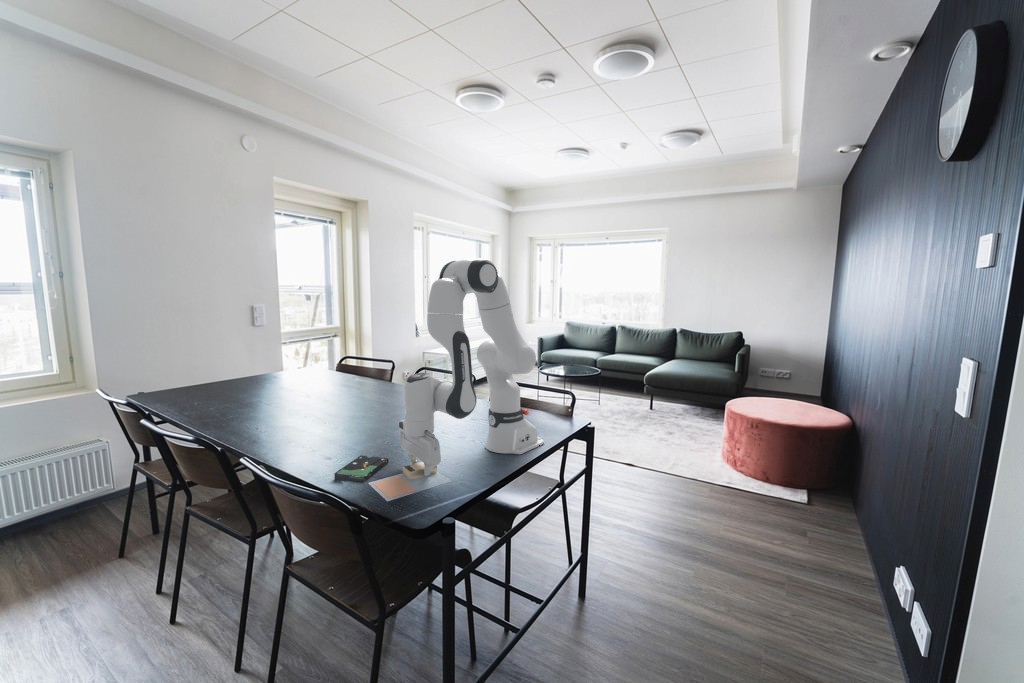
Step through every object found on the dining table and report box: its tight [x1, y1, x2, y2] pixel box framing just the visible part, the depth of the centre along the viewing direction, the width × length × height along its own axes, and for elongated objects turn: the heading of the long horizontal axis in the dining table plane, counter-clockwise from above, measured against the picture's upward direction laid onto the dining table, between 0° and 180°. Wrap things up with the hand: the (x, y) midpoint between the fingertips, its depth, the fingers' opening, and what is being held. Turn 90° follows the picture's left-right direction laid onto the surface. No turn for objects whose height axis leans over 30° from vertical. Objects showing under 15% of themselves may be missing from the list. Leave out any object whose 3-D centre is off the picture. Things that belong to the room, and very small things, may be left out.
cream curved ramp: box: [402, 461, 438, 480], centre depth 132 cm, size 9×5×3 cm, turn 129°
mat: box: [367, 471, 452, 502], centre depth 126 cm, size 20×14×1 cm
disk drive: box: [333, 454, 390, 483], centre depth 134 cm, size 10×3×15 cm
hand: (419, 470), depth 132 cm, fingers open, 7 cm apart
